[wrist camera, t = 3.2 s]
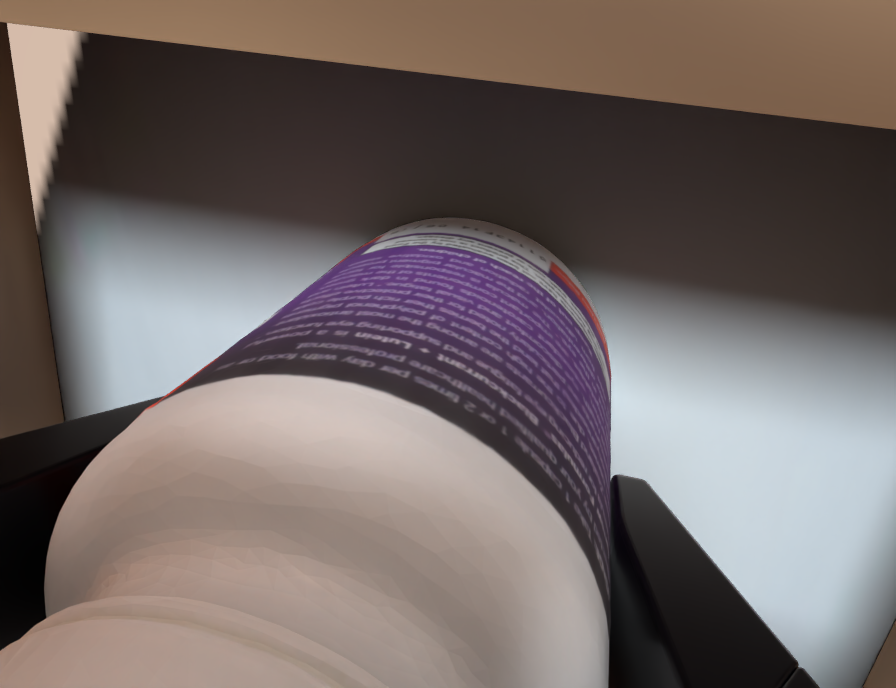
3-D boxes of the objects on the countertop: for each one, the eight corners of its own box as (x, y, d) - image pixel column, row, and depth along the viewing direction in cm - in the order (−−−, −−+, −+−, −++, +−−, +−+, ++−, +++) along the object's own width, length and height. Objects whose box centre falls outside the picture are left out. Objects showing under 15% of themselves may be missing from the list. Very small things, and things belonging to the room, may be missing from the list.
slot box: (885, 737, 14) (1006, 1033, 10) (51, 528, 17) (-135, 684, 12) (1264, 26, 8) (1902, -9, 4) (-52, -94, 11) (-432, -184, 7)
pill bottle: (319, 195, 12) (-491, 576, 3) (634, 230, 11) (738, 909, 2) (323, 458, 14) (-152, 1120, 5) (586, 505, 13) (543, 1404, 4)
